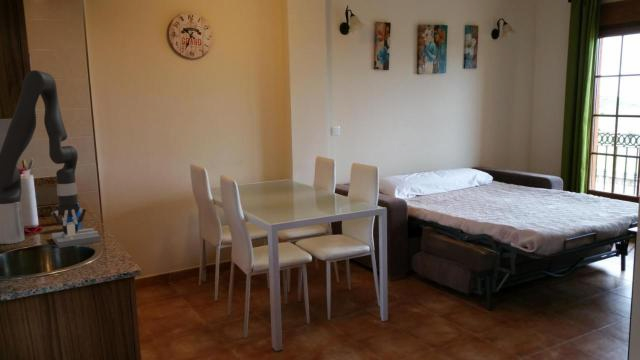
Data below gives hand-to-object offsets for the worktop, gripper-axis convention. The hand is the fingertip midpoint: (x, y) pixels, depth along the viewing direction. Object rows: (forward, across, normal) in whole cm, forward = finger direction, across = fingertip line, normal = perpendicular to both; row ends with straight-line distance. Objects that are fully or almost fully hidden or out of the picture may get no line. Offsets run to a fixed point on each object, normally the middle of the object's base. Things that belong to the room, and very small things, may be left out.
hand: (70, 233), depth 222 cm
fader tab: (+1, 0, 0) cm, 1 cm away
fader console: (+4, +2, +1) cm, 4 cm away
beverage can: (+4, +6, +24) cm, 25 cm away
